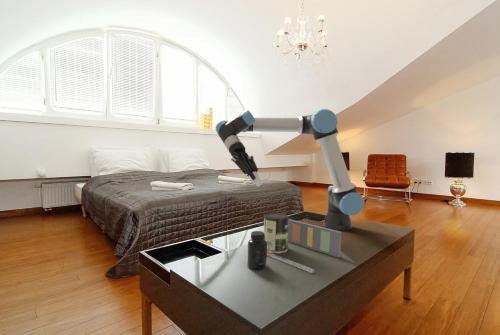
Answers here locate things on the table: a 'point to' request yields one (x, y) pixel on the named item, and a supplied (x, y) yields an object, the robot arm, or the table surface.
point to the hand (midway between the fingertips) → (259, 184)
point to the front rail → (290, 262)
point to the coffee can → (276, 232)
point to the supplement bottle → (257, 251)
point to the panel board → (315, 237)
